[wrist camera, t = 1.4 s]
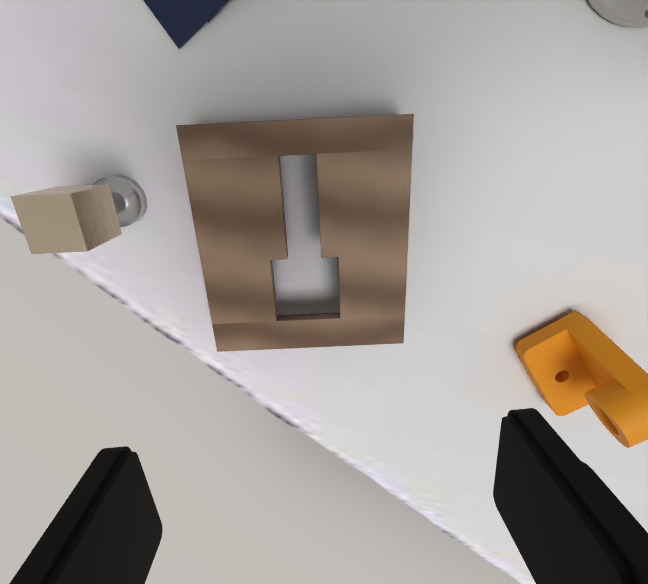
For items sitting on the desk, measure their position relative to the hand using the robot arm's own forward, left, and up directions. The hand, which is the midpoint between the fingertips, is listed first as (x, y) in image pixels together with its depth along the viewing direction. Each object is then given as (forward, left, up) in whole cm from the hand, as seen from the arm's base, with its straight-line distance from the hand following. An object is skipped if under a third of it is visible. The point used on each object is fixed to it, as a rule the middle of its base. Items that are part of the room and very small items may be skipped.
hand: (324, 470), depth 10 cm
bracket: (+17, +26, -29) cm, 43 cm away
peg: (-3, -19, -29) cm, 35 cm away
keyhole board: (+1, -1, -29) cm, 29 cm away
